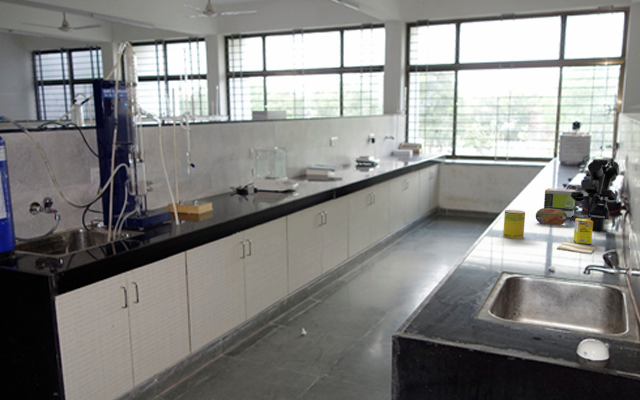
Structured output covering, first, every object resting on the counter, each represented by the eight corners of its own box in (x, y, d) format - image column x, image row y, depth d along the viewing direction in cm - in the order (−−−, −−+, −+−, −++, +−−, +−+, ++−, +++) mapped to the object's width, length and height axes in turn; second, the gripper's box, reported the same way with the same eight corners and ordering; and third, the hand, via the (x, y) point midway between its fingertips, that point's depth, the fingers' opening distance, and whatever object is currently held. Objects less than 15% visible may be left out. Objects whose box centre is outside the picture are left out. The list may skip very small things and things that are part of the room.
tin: (535, 223, 274) (536, 207, 273) (535, 222, 277) (536, 206, 275) (566, 226, 268) (567, 210, 267) (566, 224, 271) (567, 209, 270)
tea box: (574, 215, 296) (576, 189, 294) (571, 218, 288) (574, 191, 286) (545, 212, 304) (547, 187, 302) (542, 215, 296) (544, 189, 294)
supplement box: (591, 245, 229) (593, 221, 227) (576, 244, 230) (578, 220, 228) (587, 242, 235) (589, 218, 233) (573, 241, 236) (575, 218, 234)
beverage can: (524, 239, 240) (526, 213, 238) (504, 238, 242) (506, 213, 240) (521, 234, 249) (523, 210, 247) (501, 233, 250) (503, 209, 248)
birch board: (564, 242, 233) (564, 241, 233) (596, 247, 226) (596, 246, 225) (557, 248, 223) (557, 247, 223) (590, 254, 215) (590, 252, 215)
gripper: (568, 175, 249) (561, 204, 244) (609, 172, 234) (602, 203, 229) (579, 186, 254) (572, 215, 250) (619, 184, 239) (613, 214, 235)
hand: (589, 212), depth 241 cm, fingers closed
